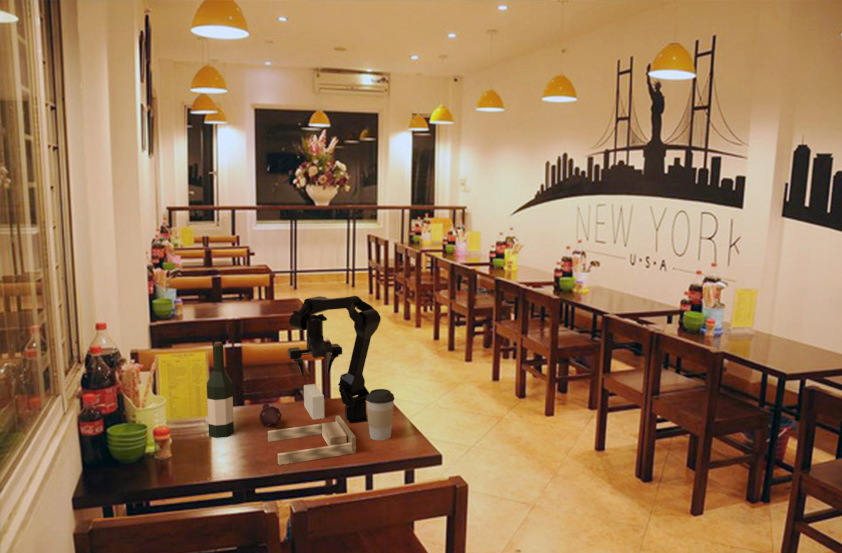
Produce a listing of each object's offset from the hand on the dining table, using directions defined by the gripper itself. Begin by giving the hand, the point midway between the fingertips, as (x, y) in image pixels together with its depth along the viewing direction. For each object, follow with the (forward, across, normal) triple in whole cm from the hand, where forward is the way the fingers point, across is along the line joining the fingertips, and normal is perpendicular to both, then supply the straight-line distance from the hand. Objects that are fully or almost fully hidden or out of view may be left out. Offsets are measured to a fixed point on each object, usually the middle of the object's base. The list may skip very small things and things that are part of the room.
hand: (315, 374), depth 230 cm
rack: (+12, -10, -34) cm, 37 cm away
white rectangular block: (+12, -2, -5) cm, 13 cm away
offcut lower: (+13, -2, -34) cm, 36 cm away
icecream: (+12, -18, -12) cm, 25 cm away
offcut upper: (+10, -2, -34) cm, 35 cm away
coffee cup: (+12, +13, -34) cm, 38 cm away
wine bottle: (+12, -34, -13) cm, 38 cm away
